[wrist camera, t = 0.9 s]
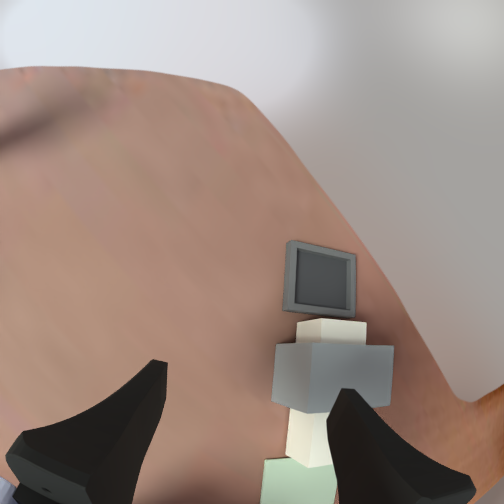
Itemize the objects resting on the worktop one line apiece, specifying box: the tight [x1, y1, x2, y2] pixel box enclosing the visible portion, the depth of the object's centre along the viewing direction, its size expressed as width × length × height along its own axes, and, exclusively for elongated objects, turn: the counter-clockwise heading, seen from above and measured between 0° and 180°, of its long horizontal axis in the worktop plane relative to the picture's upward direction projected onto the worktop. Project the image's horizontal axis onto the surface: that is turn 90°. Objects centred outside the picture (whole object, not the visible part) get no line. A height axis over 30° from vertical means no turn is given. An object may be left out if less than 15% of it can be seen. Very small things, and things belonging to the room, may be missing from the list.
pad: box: [260, 457, 337, 504], centre depth 22 cm, size 8×8×1 cm
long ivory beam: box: [285, 318, 367, 468], centre depth 24 cm, size 12×4×4 cm, turn 175°
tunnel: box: [271, 342, 394, 414], centre depth 24 cm, size 5×8×6 cm, turn 85°
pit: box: [282, 240, 356, 318], centre depth 29 cm, size 6×7×1 cm
